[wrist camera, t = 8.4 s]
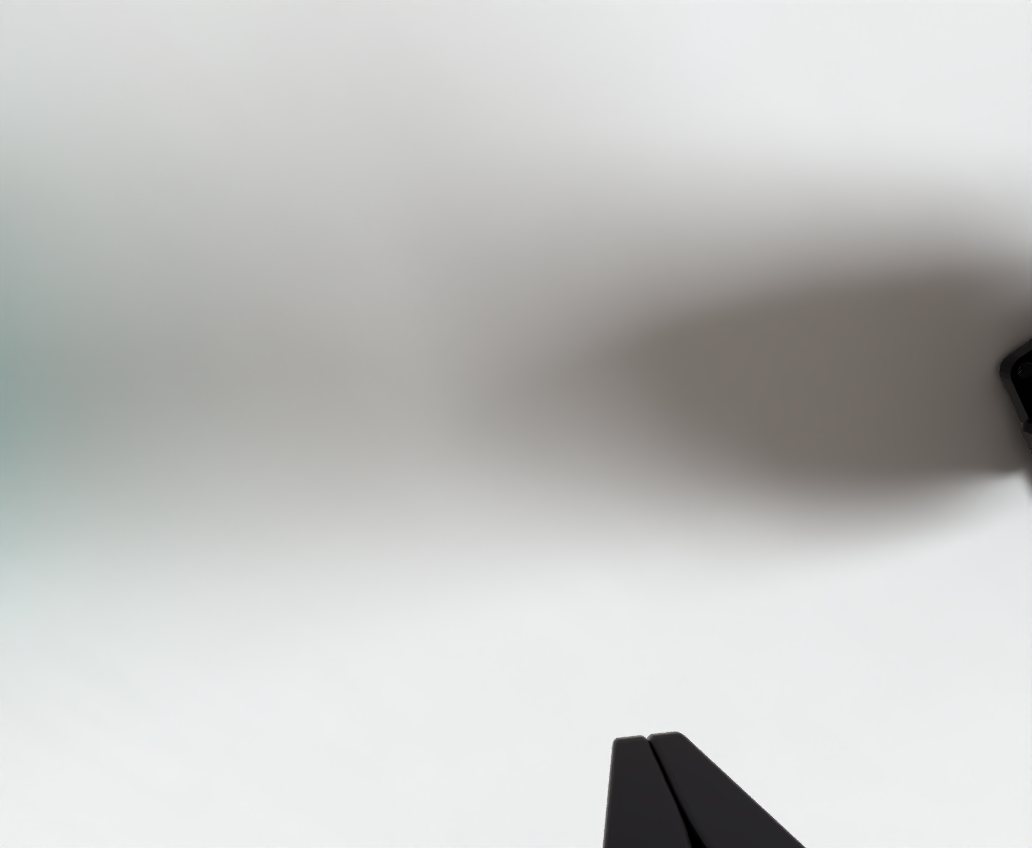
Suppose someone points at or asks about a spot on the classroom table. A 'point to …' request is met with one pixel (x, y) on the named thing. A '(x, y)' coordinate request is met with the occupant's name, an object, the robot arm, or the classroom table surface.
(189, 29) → the classroom table surface
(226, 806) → the classroom table surface
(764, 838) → the robot arm
